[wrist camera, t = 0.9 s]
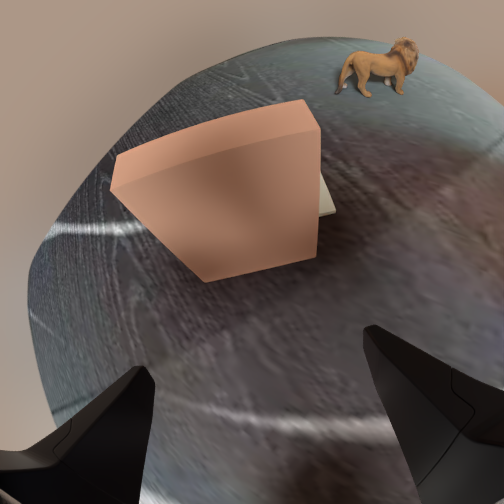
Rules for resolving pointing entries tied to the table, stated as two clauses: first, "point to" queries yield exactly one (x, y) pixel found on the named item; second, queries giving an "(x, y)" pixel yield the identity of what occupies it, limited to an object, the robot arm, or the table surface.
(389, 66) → the lion figurine
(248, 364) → the table surface
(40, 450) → the robot arm
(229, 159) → the terracotta board
